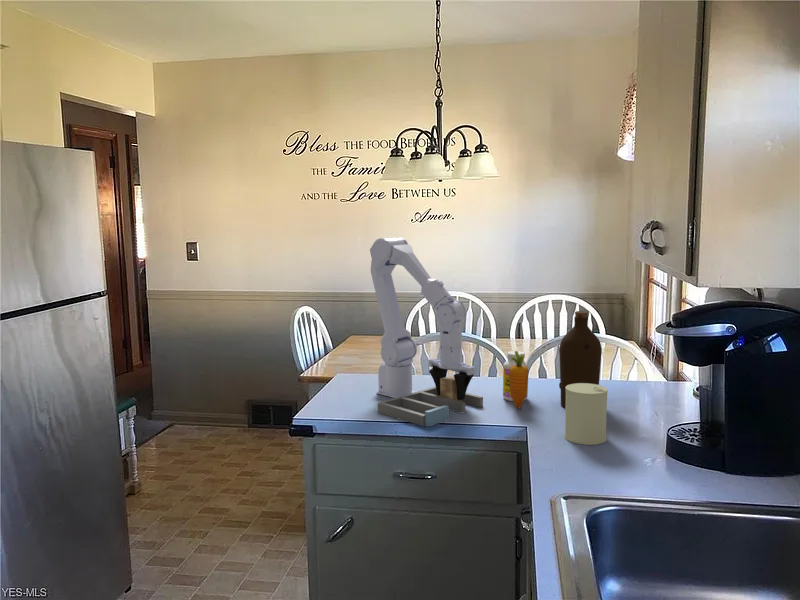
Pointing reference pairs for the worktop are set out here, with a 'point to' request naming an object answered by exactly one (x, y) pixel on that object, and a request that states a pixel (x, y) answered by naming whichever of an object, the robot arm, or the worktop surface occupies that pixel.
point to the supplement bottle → (506, 374)
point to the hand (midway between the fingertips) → (450, 396)
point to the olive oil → (579, 355)
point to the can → (586, 413)
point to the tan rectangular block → (448, 388)
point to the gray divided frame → (426, 406)
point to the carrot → (518, 380)
